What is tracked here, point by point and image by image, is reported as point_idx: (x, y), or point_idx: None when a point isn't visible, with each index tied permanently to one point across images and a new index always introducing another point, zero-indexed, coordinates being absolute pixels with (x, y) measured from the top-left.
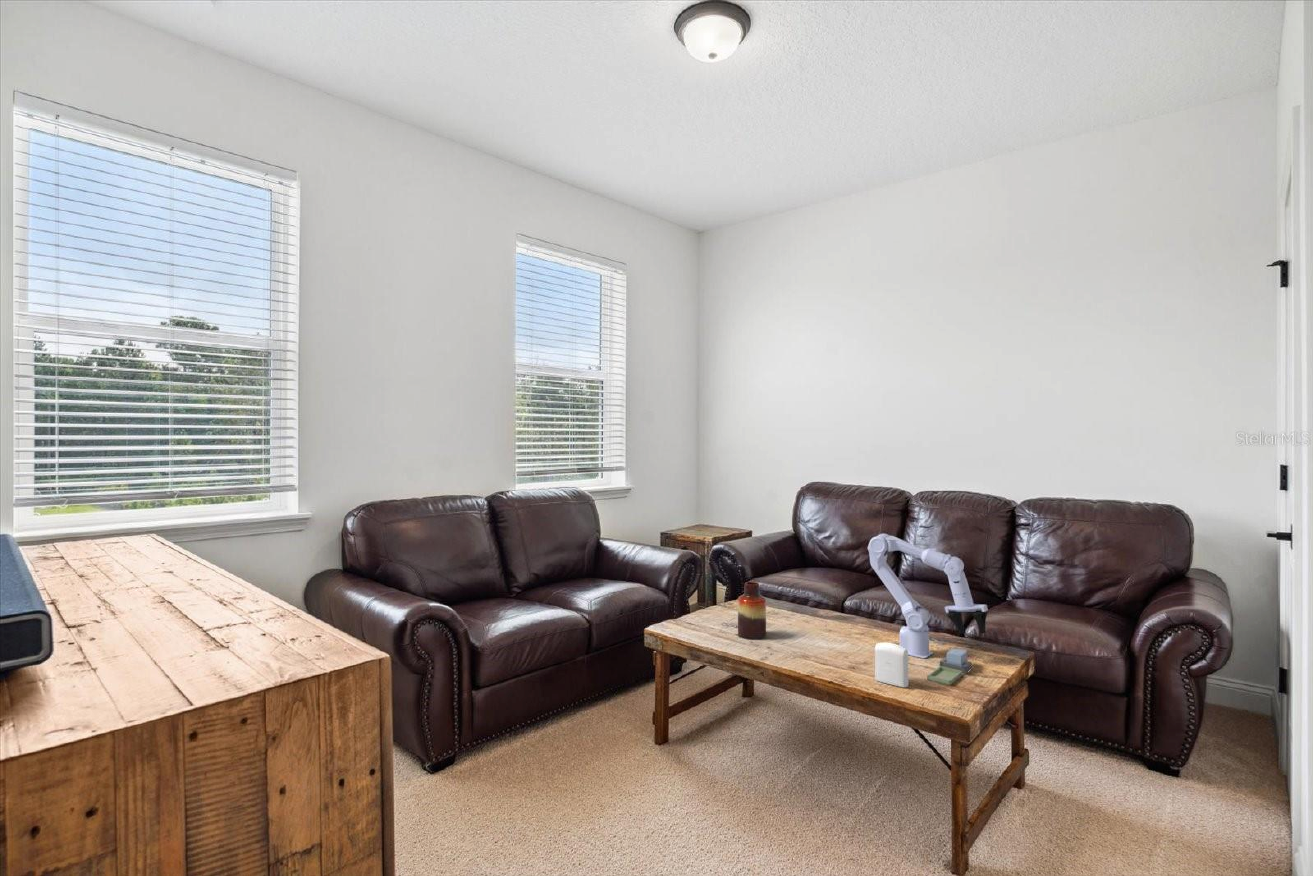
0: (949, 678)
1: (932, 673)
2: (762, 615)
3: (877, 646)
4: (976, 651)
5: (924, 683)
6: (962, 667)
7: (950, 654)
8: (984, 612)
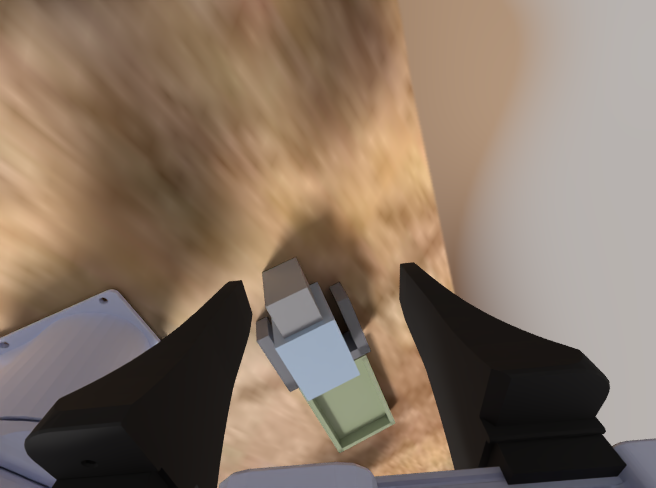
0: (365, 397)
1: (333, 434)
2: None
3: None
4: (147, 29)
5: (346, 452)
6: (362, 353)
7: (321, 391)
8: (584, 431)
